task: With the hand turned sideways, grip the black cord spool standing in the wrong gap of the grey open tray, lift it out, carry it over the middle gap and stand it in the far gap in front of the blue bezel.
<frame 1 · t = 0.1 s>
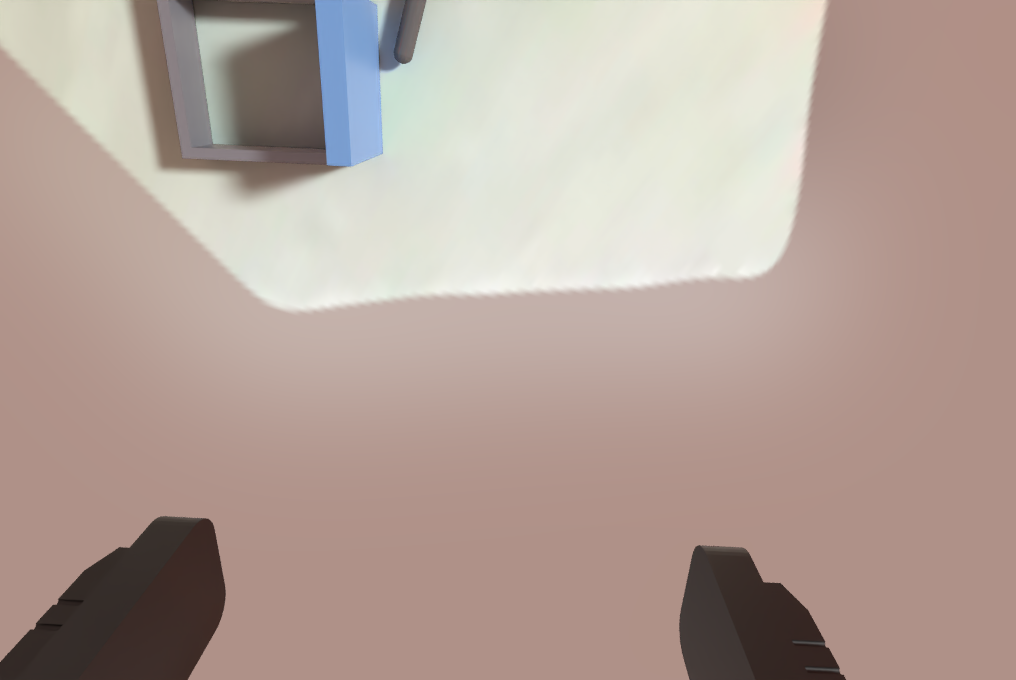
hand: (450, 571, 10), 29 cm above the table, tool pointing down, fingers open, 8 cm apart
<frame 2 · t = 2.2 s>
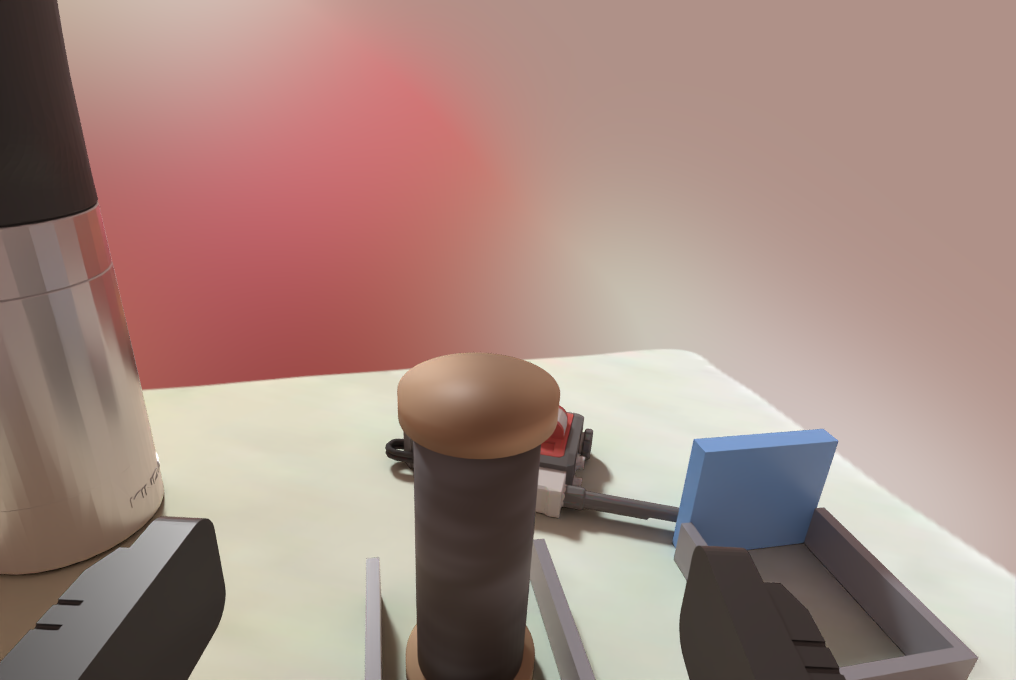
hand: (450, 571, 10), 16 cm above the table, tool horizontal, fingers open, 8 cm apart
cord spool: (470, 665, 26), on the table
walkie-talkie: (537, 477, 40), on the table
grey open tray: (642, 638, 28), on the table
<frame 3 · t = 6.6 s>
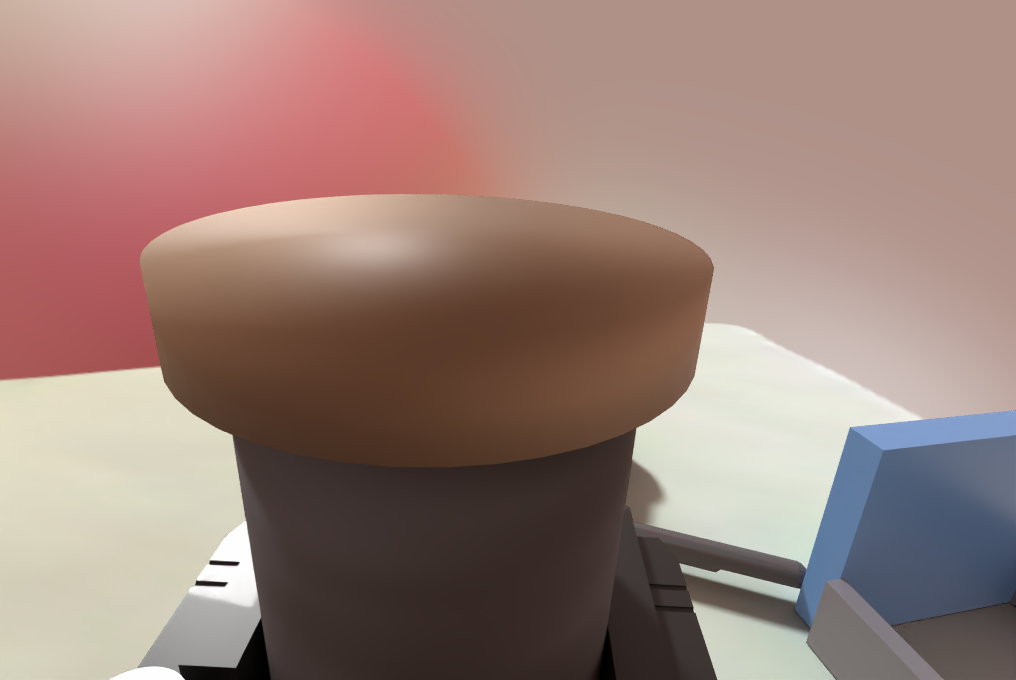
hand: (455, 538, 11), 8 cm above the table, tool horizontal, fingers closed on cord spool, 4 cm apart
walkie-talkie: (542, 491, 26), on the table
when the fingers open (9 cm above the table, at t = 12.0 s): cord spool drops 1 cm, on the table.
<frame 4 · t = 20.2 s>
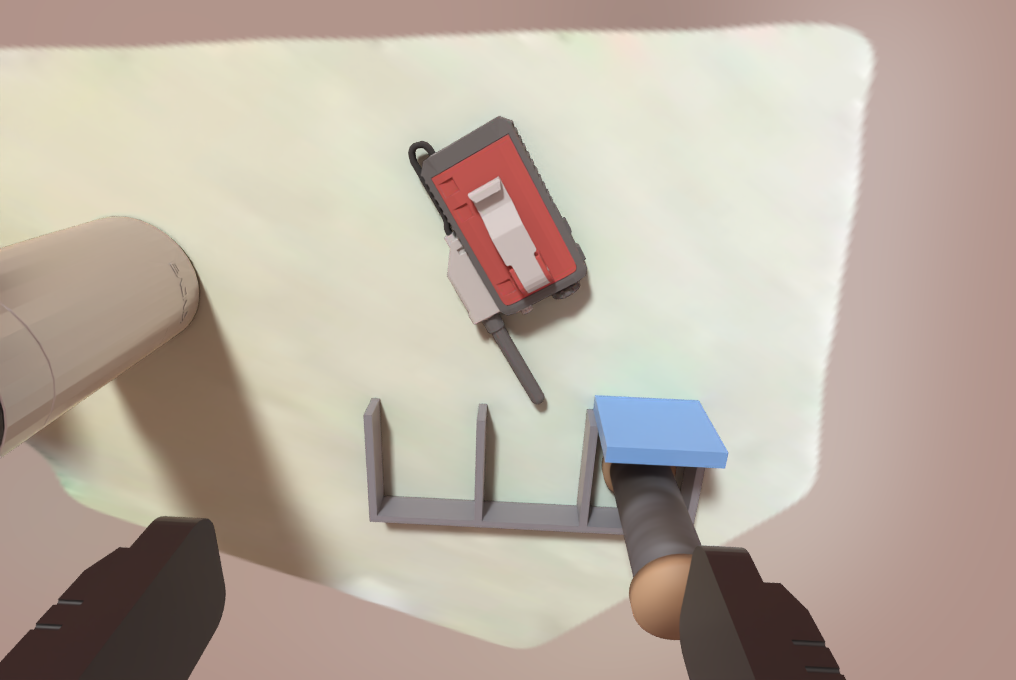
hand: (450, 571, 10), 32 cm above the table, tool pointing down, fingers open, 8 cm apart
cord spool: (637, 463, 47), on the table
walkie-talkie: (515, 260, 41), on the table
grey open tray: (533, 456, 47), on the table
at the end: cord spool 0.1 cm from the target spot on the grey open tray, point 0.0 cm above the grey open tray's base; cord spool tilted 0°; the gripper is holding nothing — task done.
